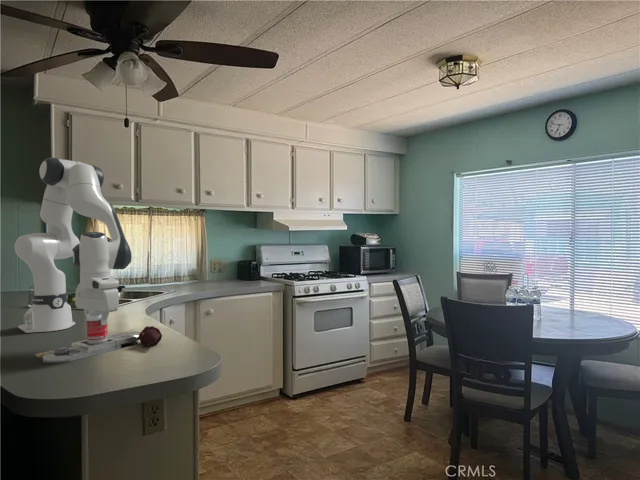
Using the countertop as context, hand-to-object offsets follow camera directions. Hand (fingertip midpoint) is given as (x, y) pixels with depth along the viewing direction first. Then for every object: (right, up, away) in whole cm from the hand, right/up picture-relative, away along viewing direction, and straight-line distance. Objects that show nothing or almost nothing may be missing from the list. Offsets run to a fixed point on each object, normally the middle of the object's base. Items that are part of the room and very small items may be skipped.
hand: (96, 323), depth 148 cm
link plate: (-13, -10, -3) cm, 17 cm away
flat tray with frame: (0, -9, 0) cm, 9 cm away
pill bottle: (0, -6, 0) cm, 6 cm away
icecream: (+16, -9, +5) cm, 19 cm away
